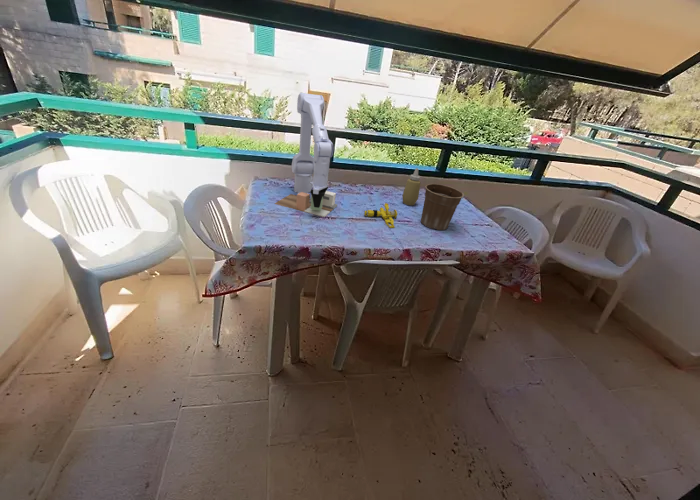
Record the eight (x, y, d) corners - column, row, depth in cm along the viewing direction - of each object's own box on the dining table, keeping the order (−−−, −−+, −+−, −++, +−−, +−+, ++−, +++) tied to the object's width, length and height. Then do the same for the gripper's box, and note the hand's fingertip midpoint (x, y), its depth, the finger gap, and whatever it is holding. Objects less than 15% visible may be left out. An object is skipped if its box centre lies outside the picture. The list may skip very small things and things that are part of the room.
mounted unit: (312, 199, 148) (313, 186, 145) (337, 205, 145) (338, 193, 142) (308, 202, 144) (309, 189, 141) (333, 209, 141) (334, 196, 138)
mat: (310, 207, 140) (310, 206, 139) (329, 212, 138) (329, 211, 137) (304, 211, 135) (304, 210, 134) (324, 217, 133) (324, 216, 132)
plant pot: (459, 228, 146) (470, 193, 138) (440, 236, 135) (451, 199, 127) (429, 214, 155) (438, 181, 147) (409, 221, 144) (418, 186, 137)
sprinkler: (361, 199, 147) (393, 201, 150) (360, 207, 149) (391, 208, 152) (370, 223, 132) (405, 224, 135) (369, 231, 134) (403, 232, 137)
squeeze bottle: (413, 208, 160) (422, 172, 151) (398, 203, 163) (406, 167, 154) (418, 204, 166) (427, 169, 157) (404, 199, 169) (412, 165, 160)
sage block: (312, 205, 137) (313, 192, 134) (322, 207, 137) (323, 193, 134) (310, 209, 134) (311, 195, 131) (320, 210, 133) (321, 196, 131)
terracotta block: (300, 205, 140) (301, 191, 137) (308, 207, 139) (309, 194, 136) (296, 208, 137) (297, 194, 134) (304, 210, 136) (305, 196, 133)
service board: (290, 195, 151) (290, 193, 150) (336, 208, 146) (337, 205, 145) (274, 205, 138) (274, 203, 138) (324, 219, 133) (324, 217, 133)
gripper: (315, 166, 135) (312, 197, 141) (306, 176, 122) (303, 209, 128) (332, 169, 134) (328, 200, 141) (324, 179, 122) (321, 212, 128)
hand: (317, 205), depth 135 cm, fingers closed on sage block, 4 cm apart
